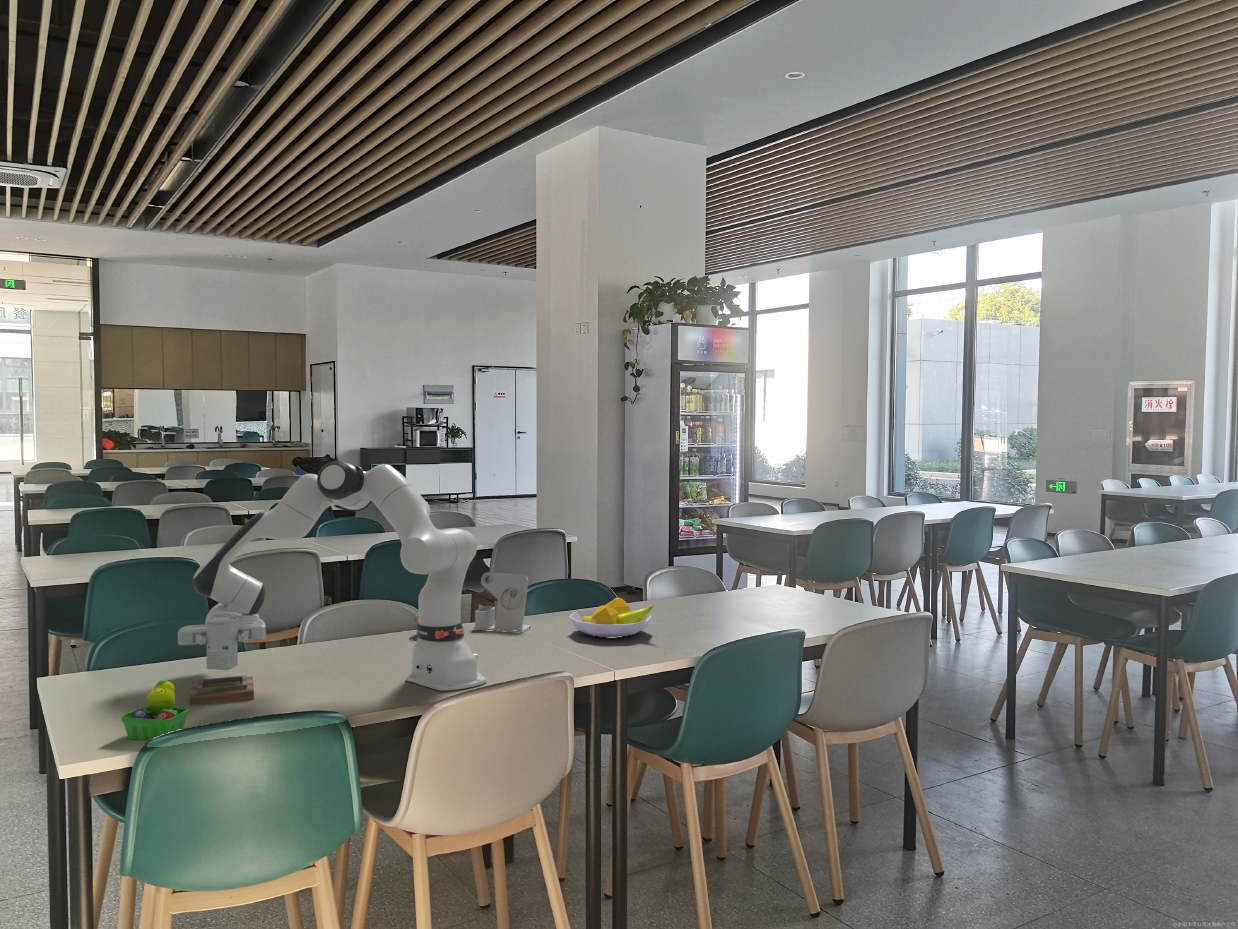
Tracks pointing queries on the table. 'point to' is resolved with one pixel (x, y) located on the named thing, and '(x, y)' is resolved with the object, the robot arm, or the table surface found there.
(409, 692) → the table surface
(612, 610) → the fruit bowl
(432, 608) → the robot arm
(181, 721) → the fruit basket
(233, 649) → the skincare box
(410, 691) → the table surface
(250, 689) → the socket plinth
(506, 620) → the phone holder
